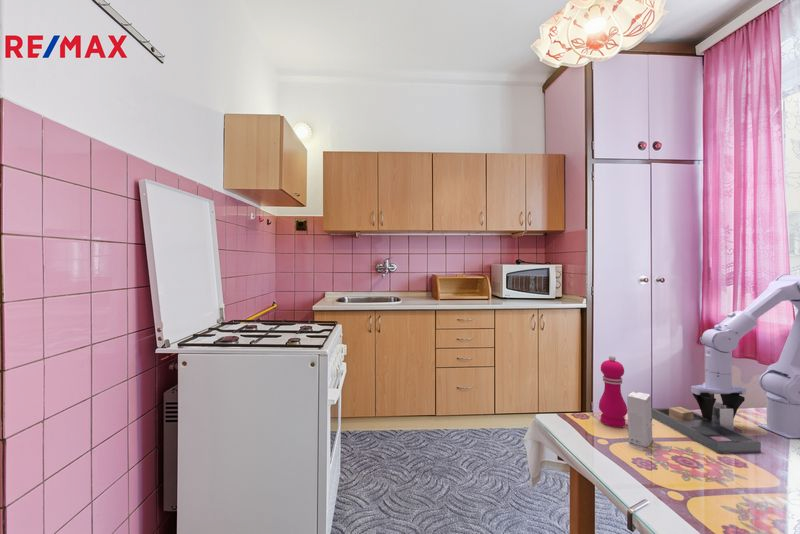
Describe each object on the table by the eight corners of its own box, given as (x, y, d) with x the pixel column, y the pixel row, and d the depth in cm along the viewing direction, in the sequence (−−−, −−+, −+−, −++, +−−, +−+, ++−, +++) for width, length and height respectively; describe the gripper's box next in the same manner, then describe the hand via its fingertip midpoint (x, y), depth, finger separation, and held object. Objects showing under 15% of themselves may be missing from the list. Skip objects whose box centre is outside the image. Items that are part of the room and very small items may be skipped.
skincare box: (647, 448, 88) (647, 400, 88) (627, 442, 91) (626, 395, 92) (653, 440, 92) (652, 394, 93) (633, 434, 96) (632, 390, 96)
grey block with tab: (720, 423, 102) (719, 400, 102) (733, 429, 98) (733, 405, 98) (707, 424, 102) (706, 400, 102) (720, 430, 98) (719, 406, 98)
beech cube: (679, 420, 105) (679, 406, 105) (693, 425, 101) (693, 411, 101) (669, 421, 104) (668, 407, 104) (682, 427, 100) (682, 413, 101)
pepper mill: (632, 429, 99) (631, 358, 99) (604, 427, 100) (603, 357, 101) (621, 419, 106) (620, 353, 106) (595, 417, 107) (594, 352, 108)
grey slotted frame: (684, 415, 108) (684, 407, 108) (760, 452, 86) (760, 442, 86) (650, 416, 108) (650, 408, 108) (718, 453, 86) (717, 443, 86)
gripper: (728, 367, 105) (728, 413, 105) (682, 367, 104) (681, 413, 104) (753, 374, 98) (753, 423, 97) (703, 374, 97) (703, 423, 97)
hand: (718, 419), depth 100 cm, fingers open, 6 cm apart
